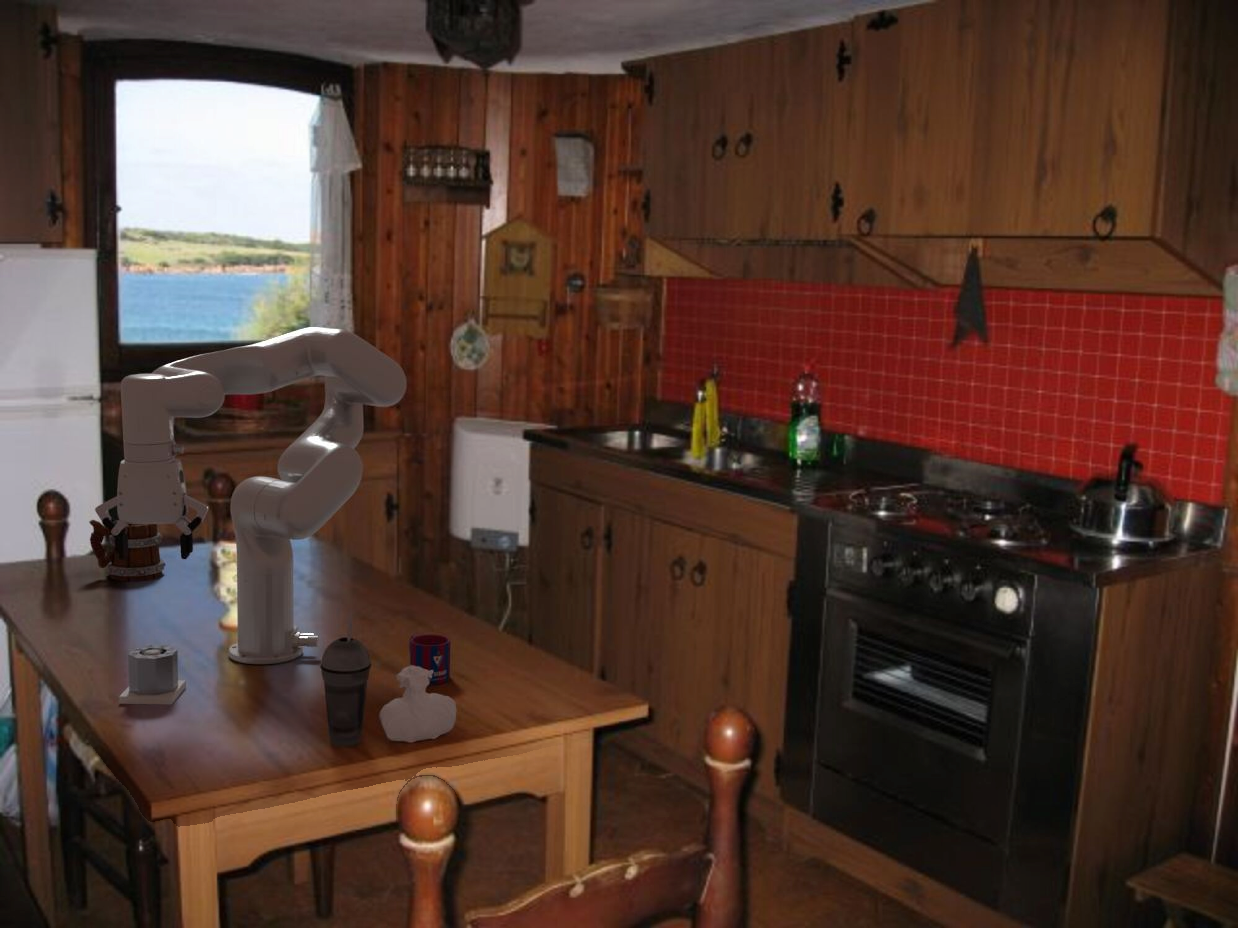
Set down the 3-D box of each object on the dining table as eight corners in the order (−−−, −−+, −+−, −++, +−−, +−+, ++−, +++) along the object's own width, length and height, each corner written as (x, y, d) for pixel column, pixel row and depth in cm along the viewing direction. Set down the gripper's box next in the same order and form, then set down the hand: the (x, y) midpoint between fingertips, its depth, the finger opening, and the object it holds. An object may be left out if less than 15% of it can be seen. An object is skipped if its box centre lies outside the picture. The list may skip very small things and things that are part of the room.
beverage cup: (349, 727, 194) (349, 599, 191) (381, 740, 189) (382, 609, 186) (309, 740, 188) (309, 608, 185) (341, 754, 184) (342, 618, 181)
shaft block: (185, 687, 209) (185, 644, 208) (171, 704, 201) (170, 660, 200) (135, 686, 208) (134, 643, 207) (119, 703, 200) (118, 659, 199)
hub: (181, 681, 208) (180, 645, 207) (169, 695, 201) (168, 658, 200) (138, 680, 208) (137, 644, 207) (125, 694, 201) (124, 657, 200)
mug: (175, 577, 276) (162, 510, 272) (106, 595, 268) (91, 527, 265) (162, 565, 285) (148, 500, 281) (95, 582, 278) (80, 516, 274)
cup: (418, 687, 213) (419, 647, 212) (397, 669, 222) (397, 631, 220) (456, 681, 216) (456, 642, 215) (433, 664, 225) (433, 627, 224)
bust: (453, 742, 196) (437, 672, 200) (469, 726, 190) (452, 654, 194) (377, 754, 190) (362, 682, 194) (391, 738, 184) (375, 664, 189)
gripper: (210, 448, 208) (215, 551, 211) (99, 448, 206) (105, 551, 210) (200, 456, 201) (205, 563, 204) (85, 456, 199) (91, 564, 202)
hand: (154, 557), depth 207 cm, fingers open, 9 cm apart
